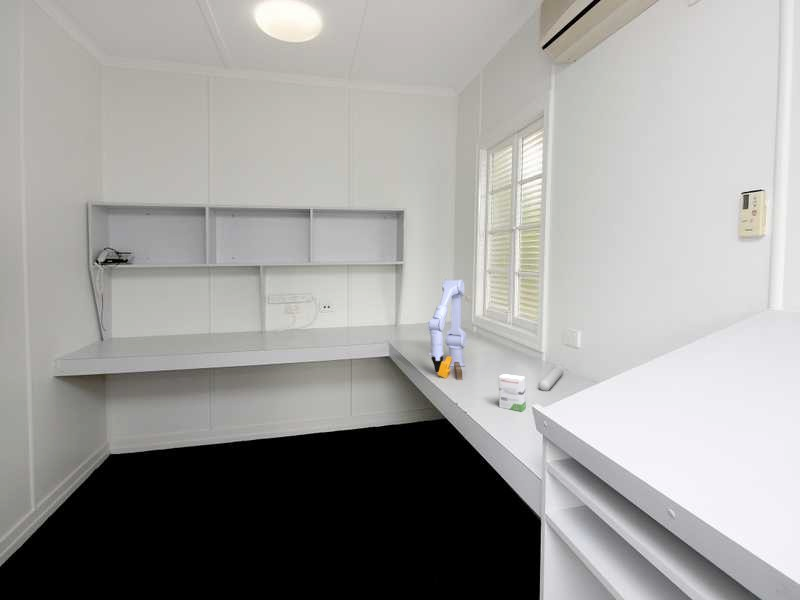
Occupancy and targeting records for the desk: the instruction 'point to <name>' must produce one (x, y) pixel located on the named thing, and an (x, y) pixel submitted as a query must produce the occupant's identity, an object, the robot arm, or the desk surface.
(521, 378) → the ink box
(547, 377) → the tube
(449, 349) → the robot arm
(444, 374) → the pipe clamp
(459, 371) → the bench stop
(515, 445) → the desk surface
